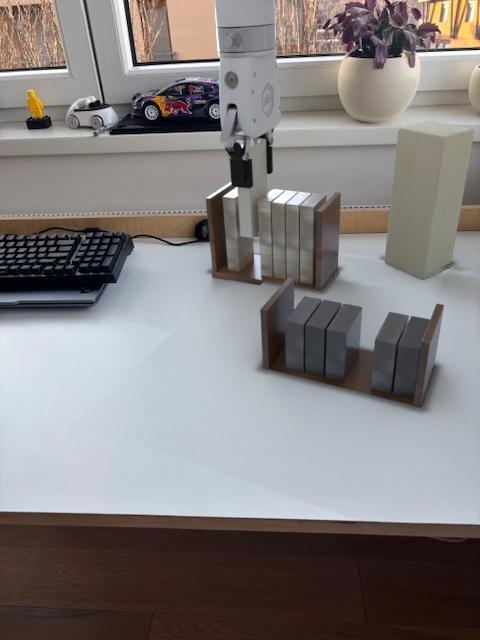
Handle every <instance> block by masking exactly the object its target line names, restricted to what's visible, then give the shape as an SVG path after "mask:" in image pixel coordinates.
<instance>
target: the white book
mask: <svg viewBox="0 0 480 640" xmlns="http://www.w3.org/2000/svg"><path fill="white" fill-rule="evenodd" d="M240 145H241V147H242V148H243V144H240ZM249 159H252V169H253V187H251V188H240V187H237V189H238V205H239V221H240V236H242V237H249V238H253V239H254V237H255V236H256V235H258V234H259V218H258V200H259V199H261V198H262V197H263V196H265V195H266V194H267V193H269V190H268V174H267V157H266V139H261V138H255V139H252V138H251V145H250V154H249Z"/></svg>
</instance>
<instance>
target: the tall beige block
mask: <svg viewBox="0 0 480 640" xmlns="http://www.w3.org/2000/svg"><path fill="white" fill-rule="evenodd" d="M474 135H475V129H474V128H471V127H468V126H467V127H466V126H463V125H456V124H451V123H447V122H446V123H445V122H439V121H436V120H423V121H420V122H415V123H412V124H408V125H404V126H399V128H398V129H397V136H396V143H395V144H396V145H395V146H396V147H395V154H394V165H393V176H392V183H391V186H392V187H391V193H390V204H389V213H388V222H387V231H386V232H387V233H386V242H385V250H384V251H385V253H384V263H385V264H386V265H389V266H391V267H393V268H394V269H397V270H400V271H402V272H404V273H406V274H409V275H410V276H412V277H415V278H418V279H420V280H426V279H428V278H431V277H432V276H435V275H438V274H440V273H442V272H443V271H446V270H448V269H450V268H451V267H450V266H447V265H449V264H452V261H453V257H454V256H453V255H454V250H455V244H456V238H457V234H458V233H457V232H458V228H459V220H460V216H461V210H462V203H463V197H464V193H465V186H466V180H467V175H468V170H469V164H470V158H471V152H472V147H473V143H474V142H473V141H474Z"/></svg>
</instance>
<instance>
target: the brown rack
mask: <svg viewBox="0 0 480 640" xmlns="http://www.w3.org/2000/svg"><path fill="white" fill-rule="evenodd" d="M341 198H342V192H340V191H339V192H336V191H335V192H334V193H333V194H332V195H331V196H330V197H329V198H328V199H327V194H326V193H318V192H309V191H307V192H306V191H295V190H284V189H277V188H273V189H271V190H270V191H268V193H267V194H266V195H265V196H263V197H262V198H261V199H259V200H258V218H259V232H258V237H259V240H258V241H259V254H255V246H254V237H253V238H249V237H242V236H240V221H239V205H238V189H237V187H233V186H232V185H231V181H230V182H228V183H227V184H225V185H224V186H222V187H221V188H219V189H217V190H216V191H215V192H213V193H211V194H210V195H208V196H207V197H205V206H206V218H207V228H208V237H209V238H208V239H209V248H210V257H211V268H212V270H211V276H212V278H217V279H222V280H227V281H234V282H237V283H238V282H240V283H244V284H248V285H249V284H251V285H255V286H261V285H262V284H263V283H264V282H269V283H274V284H279V285H282V284H283V283H284V282H285V281H286V280H287V279H288V278H292V279H294V287H296V288H302V289H308V290H313V291H319V292H323V291H324V289H325V288H326V286H328V283H329V282H330V281H331V280H333V281H334V280H336V278H337V277H338V275H339V274H340V267H339V254H340V253H339V252H340V250H339V249H340V228H341V227H340V225H341V203H342V201H341V200H342V199H341Z"/></svg>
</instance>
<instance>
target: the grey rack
mask: <svg viewBox="0 0 480 640" xmlns="http://www.w3.org/2000/svg"><path fill="white" fill-rule="evenodd" d="M444 309H445V304H442V303H436V304H435V306H434V309H433V311H432V314H431V317H430V318H425V317H419V316H415V315H411V316H410V315H409V314H404V313H398V312H393V311H388V313H387V315H386V317H385V319H384V321H383V323H382V325H381V327H380V329H379V331H378V333H377V335H376V337H375V338H374V344H373V345H374V346H373V351H372V350H367V349H362V348H360V347H361V333H362V317H363V306H359V305H354V304H349V303H342V302H338V301H333V300H328V299H322V298H317V297H311V296H305V295H304V296H303V297H302V298H301V300H300V301H299V302H298V304H297V305H295V286H294V279H292V278H288V279H287V280H286V281H285V282H284V283H283V284H280V287H278V289H277V290H276V291H275V292H273V294H272V296H270V298H269V299H268V300H267V301H266V302H265V303H264V305H262V307H261V308H260V310H259V313H260V335H261V354H262V357H261V358H262V366H261V369H265V370H268V371H272V372H275V373H280V374H285V375H288V376H293V377H296V378H300V379H303V380H308V381H312V382H316V383H319V384H324V385H328V386H332V387H336V388H338V389H339V388H340V389H344V390H347V391H352V392H356V393H359V394H364V395H367V396H372V397H376V398H378V399H379V398H380V399H384V400H388V401H392V402H395V403H398V404H399V403H400V404H404V405H408V406H412V407H415V408H419V409H423V408H424V405H425V402H426V398H427V396H428V393H429V389H430V386H431V383H432V380H433V377H434V374H435V370H436V368H437V365H436V358H437V352H438V347H439V340H440V334H441V327H442V321H443V315H444Z"/></svg>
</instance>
